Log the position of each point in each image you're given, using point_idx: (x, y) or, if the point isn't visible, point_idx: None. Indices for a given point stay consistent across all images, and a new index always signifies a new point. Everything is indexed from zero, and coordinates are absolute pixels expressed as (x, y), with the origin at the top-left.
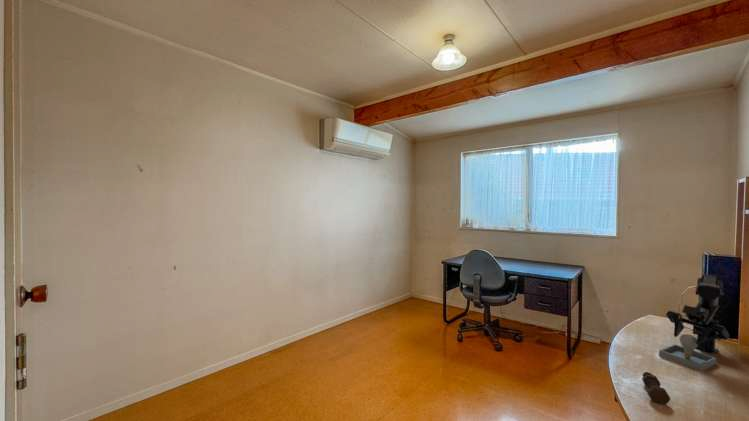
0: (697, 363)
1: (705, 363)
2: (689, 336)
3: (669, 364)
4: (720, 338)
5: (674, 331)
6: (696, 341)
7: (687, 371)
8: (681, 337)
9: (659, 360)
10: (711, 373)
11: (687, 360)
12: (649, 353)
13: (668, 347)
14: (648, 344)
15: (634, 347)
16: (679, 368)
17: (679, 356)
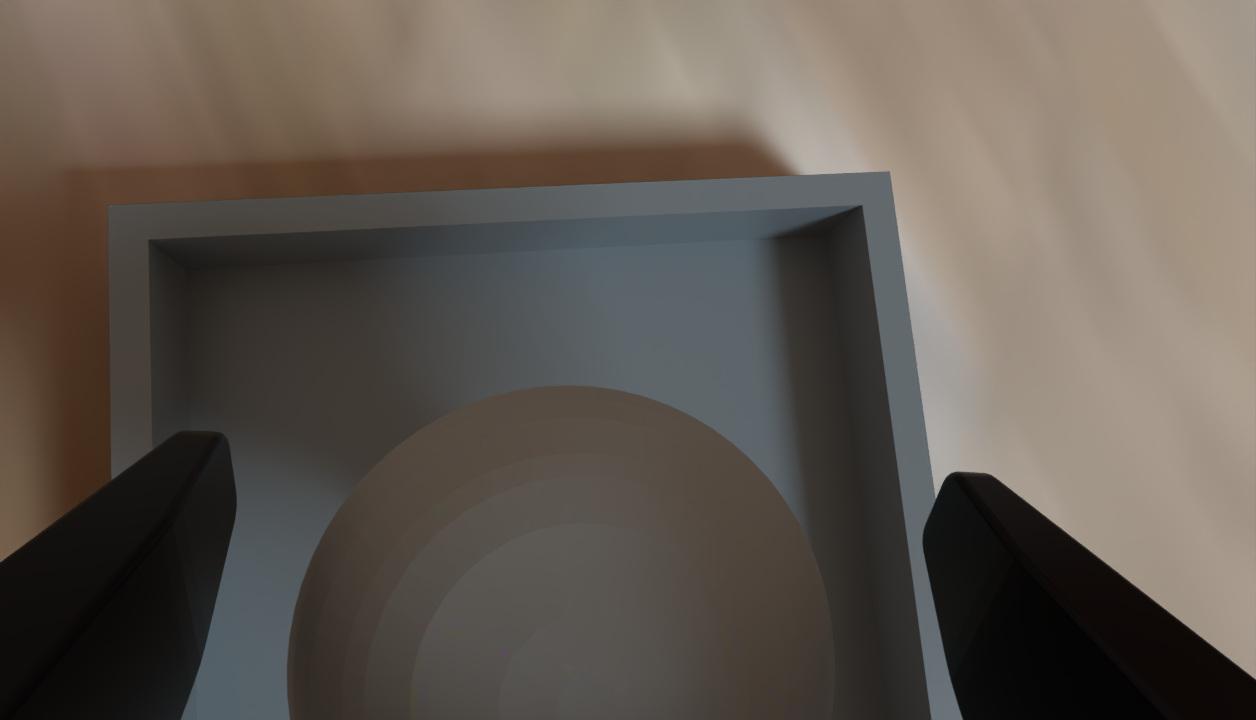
0: (186, 216)
1: (112, 423)
2: (523, 565)
3: (560, 9)
4: None
5: (1110, 573)
6: (299, 645)
7: (277, 7)
8: (746, 467)
9: (720, 16)
10: (25, 357)
11: (371, 196)
12: (961, 159)
13: (918, 549)
14: (1243, 606)
15: (1207, 168)
16: (401, 3)
17: None
